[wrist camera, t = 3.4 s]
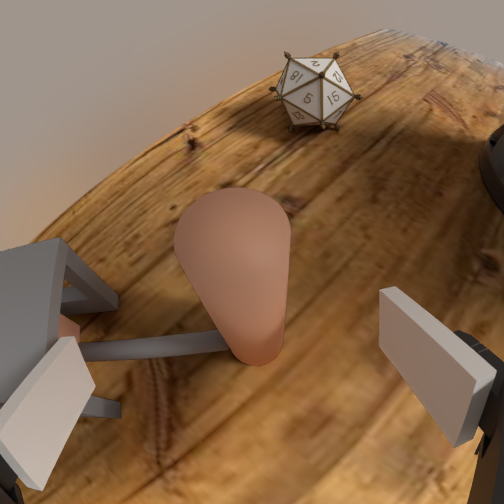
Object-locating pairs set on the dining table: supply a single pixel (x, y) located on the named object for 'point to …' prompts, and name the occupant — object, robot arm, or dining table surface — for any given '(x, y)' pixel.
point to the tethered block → (221, 281)
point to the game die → (314, 91)
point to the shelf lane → (45, 310)
